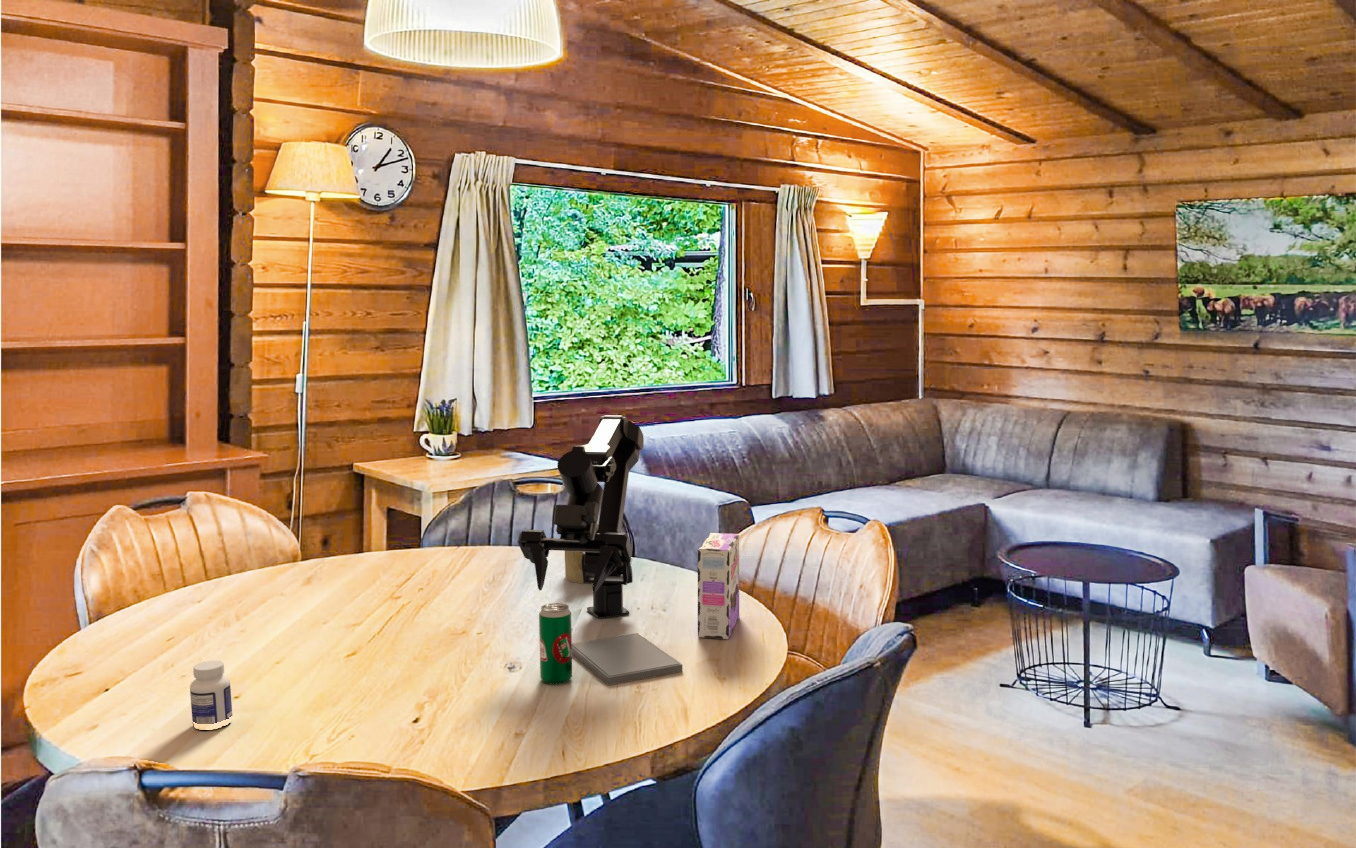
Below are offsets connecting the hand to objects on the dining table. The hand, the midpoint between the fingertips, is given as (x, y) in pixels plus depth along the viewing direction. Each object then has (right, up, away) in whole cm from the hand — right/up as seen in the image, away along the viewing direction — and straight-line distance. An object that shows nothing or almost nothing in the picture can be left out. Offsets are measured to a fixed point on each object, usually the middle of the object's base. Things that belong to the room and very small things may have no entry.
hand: (566, 590), depth 172 cm
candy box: (+26, -10, +21) cm, 35 cm away
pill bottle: (-49, -16, -22) cm, 56 cm away
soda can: (-1, -14, -5) cm, 15 cm away
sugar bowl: (0, -6, +54) cm, 54 cm away
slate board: (+9, -12, +3) cm, 16 cm away
